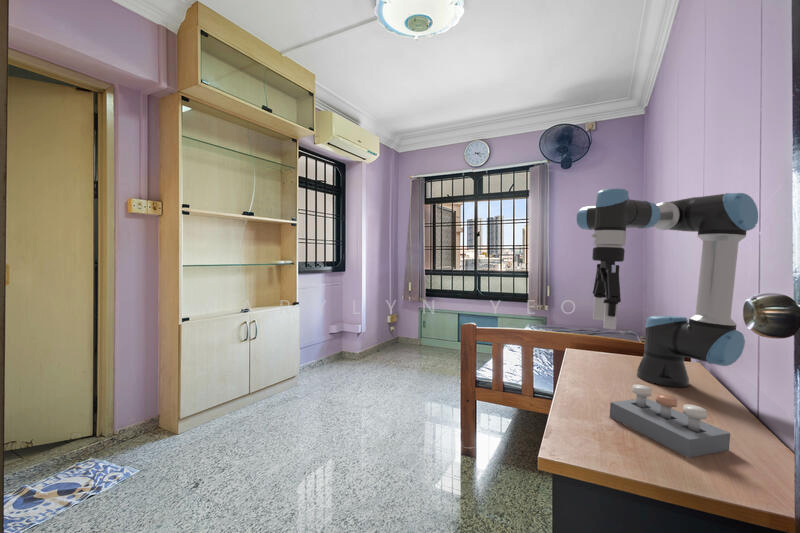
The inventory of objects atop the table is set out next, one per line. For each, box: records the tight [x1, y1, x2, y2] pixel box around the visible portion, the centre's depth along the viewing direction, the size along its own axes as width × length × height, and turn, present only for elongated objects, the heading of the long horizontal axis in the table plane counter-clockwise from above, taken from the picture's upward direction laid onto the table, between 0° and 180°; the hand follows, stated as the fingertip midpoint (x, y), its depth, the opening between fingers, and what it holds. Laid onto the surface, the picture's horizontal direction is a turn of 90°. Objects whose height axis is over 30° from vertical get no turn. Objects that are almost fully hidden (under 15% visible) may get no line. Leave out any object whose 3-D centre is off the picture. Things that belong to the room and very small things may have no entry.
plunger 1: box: [632, 384, 653, 408], centre depth 96 cm, size 4×4×5 cm
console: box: [609, 398, 731, 458], centre depth 90 cm, size 13×20×4 cm, turn 18°
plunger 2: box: [682, 403, 708, 433], centre depth 84 cm, size 4×4×5 cm
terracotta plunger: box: [655, 393, 678, 420], centre depth 90 cm, size 4×4×5 cm
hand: (603, 324), depth 100 cm, fingers open, 13 cm apart
